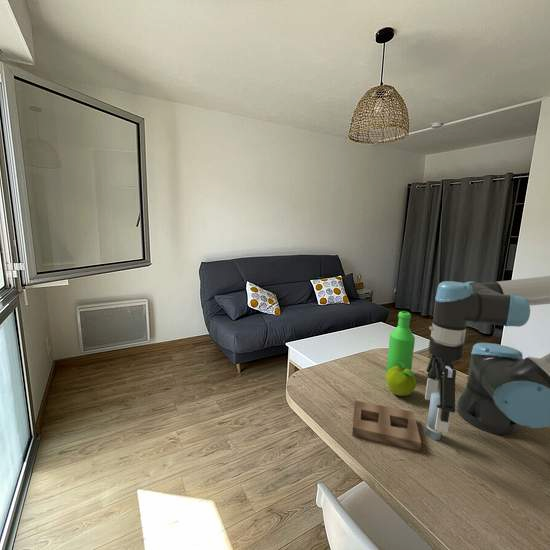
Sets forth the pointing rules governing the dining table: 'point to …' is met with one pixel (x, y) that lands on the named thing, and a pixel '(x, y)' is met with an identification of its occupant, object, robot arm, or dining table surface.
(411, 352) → the bottle
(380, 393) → the dining table surface
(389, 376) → the fruit
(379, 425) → the board
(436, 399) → the peg
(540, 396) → the robot arm
